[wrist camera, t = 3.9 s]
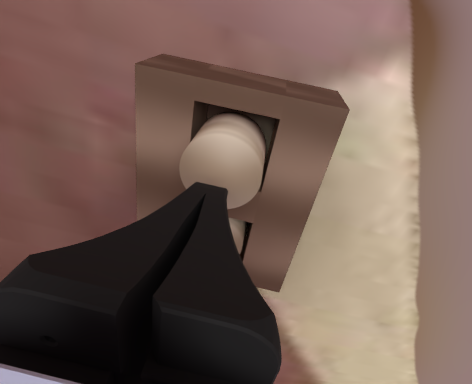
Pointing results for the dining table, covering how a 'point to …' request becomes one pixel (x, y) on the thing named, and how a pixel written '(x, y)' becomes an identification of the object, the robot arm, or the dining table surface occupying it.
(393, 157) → the dining table surface
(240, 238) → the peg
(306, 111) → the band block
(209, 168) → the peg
